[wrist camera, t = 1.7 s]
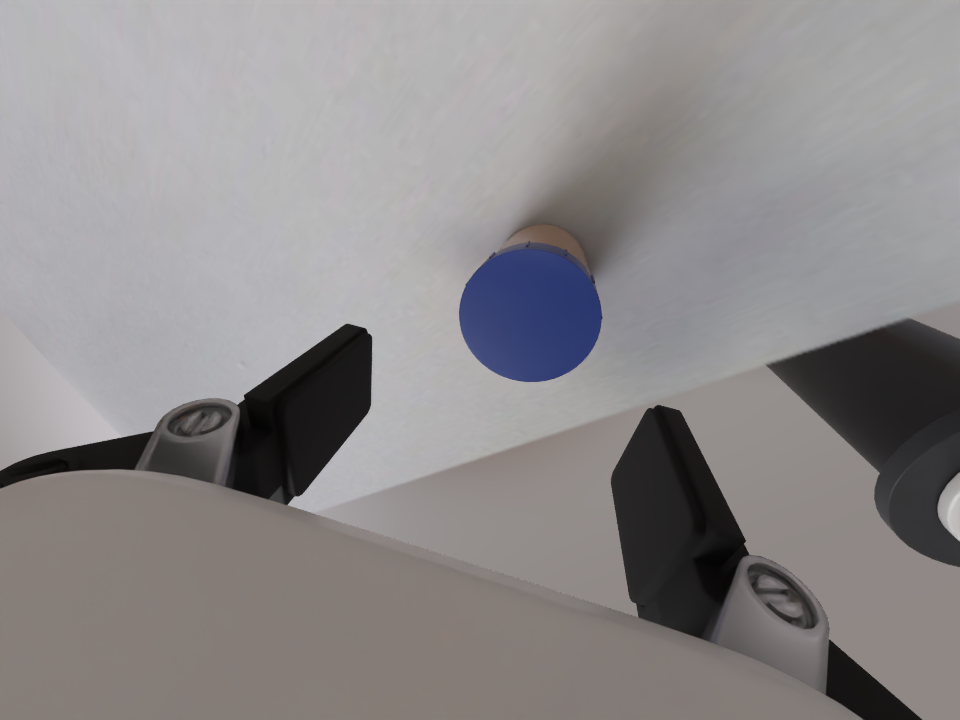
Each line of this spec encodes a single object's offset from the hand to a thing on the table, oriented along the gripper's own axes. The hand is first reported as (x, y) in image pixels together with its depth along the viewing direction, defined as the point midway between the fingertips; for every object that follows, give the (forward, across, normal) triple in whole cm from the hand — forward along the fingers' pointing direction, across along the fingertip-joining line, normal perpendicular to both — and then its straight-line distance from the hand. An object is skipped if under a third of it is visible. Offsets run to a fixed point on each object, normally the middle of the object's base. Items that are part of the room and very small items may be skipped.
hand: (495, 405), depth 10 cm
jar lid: (+8, 0, 0) cm, 8 cm away
